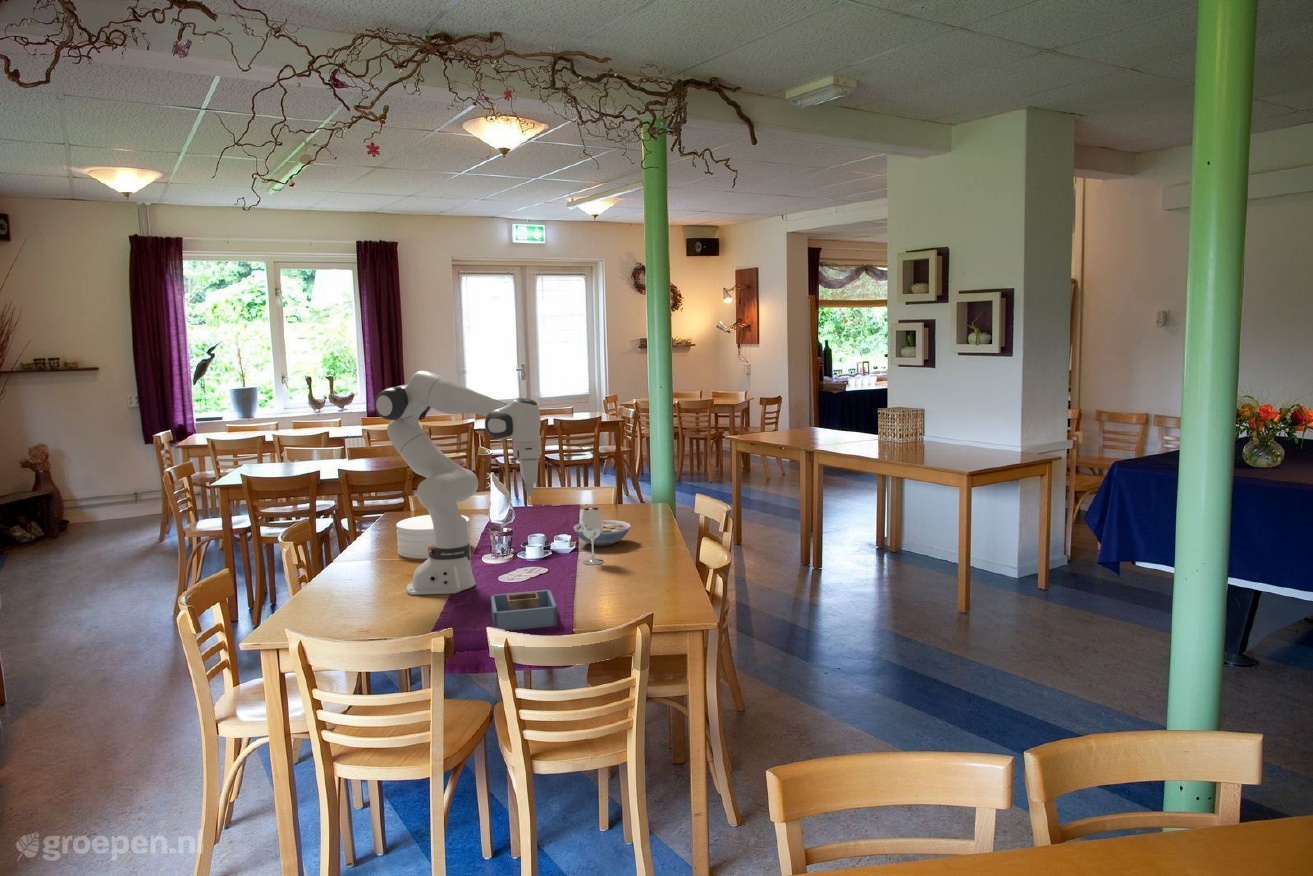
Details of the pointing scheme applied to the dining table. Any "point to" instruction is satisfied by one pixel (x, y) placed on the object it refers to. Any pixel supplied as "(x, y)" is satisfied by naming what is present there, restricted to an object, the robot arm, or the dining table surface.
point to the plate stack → (417, 536)
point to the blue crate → (524, 612)
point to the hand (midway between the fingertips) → (528, 493)
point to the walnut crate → (522, 601)
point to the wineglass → (592, 530)
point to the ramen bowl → (607, 532)
